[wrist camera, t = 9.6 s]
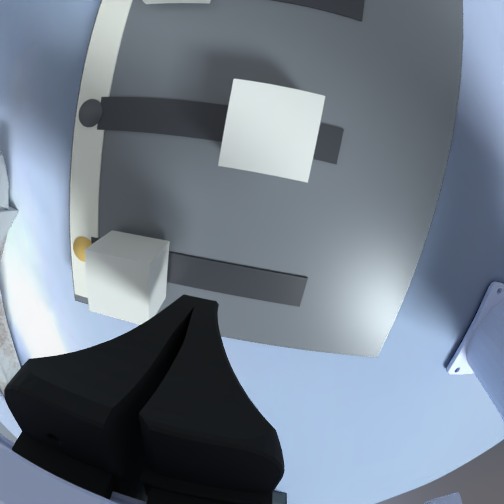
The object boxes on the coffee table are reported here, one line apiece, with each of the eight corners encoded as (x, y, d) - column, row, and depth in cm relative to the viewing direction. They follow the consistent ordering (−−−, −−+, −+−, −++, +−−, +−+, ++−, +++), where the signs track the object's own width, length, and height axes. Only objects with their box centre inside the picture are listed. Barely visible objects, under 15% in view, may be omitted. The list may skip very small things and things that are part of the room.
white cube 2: (313, 104, 11) (325, 96, 9) (299, 173, 12) (307, 182, 10) (240, 90, 11) (233, 78, 9) (227, 159, 12) (217, 165, 10)
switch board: (445, 5, 10) (463, -6, 8) (368, 337, 18) (377, 359, 16) (140, -50, 10) (126, -65, 8) (90, 285, 18) (73, 301, 16)
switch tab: (169, 241, 14) (150, 263, 11) (165, 297, 15) (148, 326, 12) (112, 230, 14) (84, 249, 11) (112, 284, 15) (89, 310, 12)
